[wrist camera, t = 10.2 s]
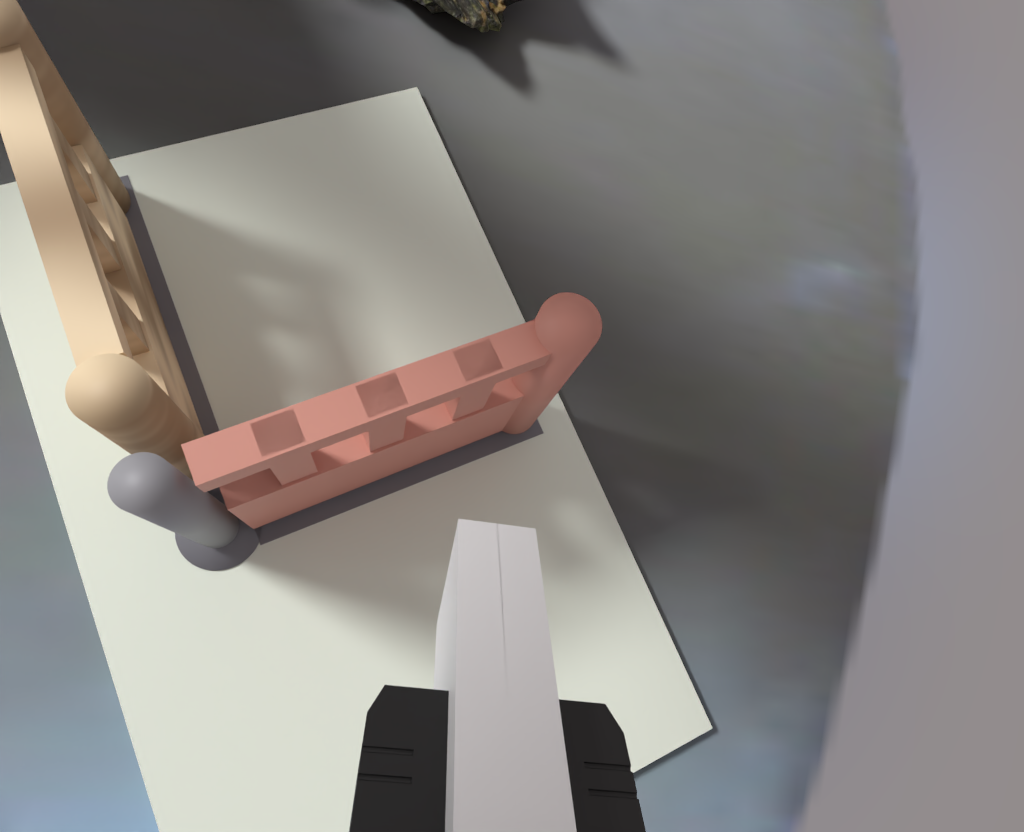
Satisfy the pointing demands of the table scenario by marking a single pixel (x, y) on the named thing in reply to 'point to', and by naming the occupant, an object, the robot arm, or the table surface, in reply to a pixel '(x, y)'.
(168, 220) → the card
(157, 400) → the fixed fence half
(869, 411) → the table surface
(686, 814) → the table surface
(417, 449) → the hinged fence half
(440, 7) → the mineral specimen
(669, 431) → the table surface
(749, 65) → the table surface
